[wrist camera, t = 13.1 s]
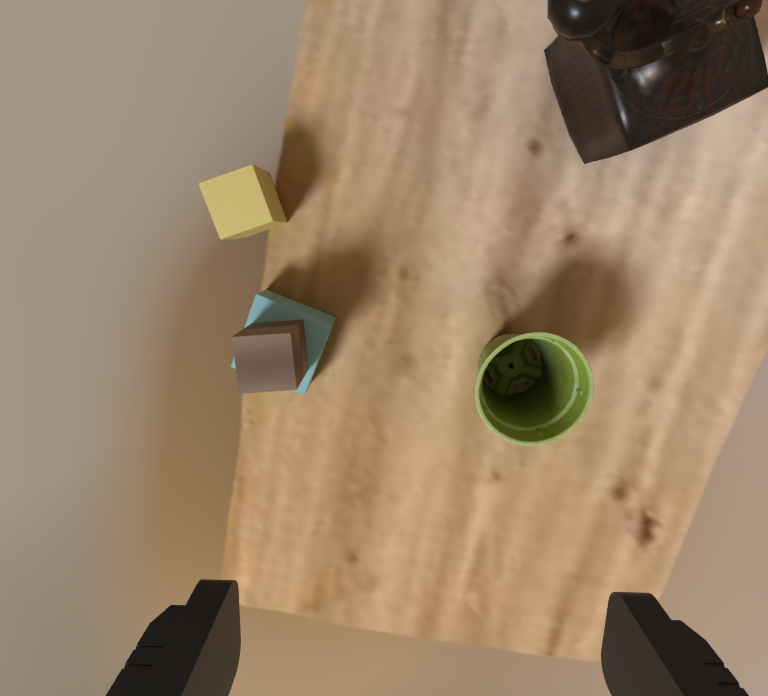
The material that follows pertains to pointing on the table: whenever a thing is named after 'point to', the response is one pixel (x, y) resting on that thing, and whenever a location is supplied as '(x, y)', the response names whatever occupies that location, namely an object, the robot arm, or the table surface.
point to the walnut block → (270, 356)
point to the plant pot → (533, 387)
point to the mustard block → (243, 202)
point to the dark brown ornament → (649, 67)
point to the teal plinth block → (285, 309)
